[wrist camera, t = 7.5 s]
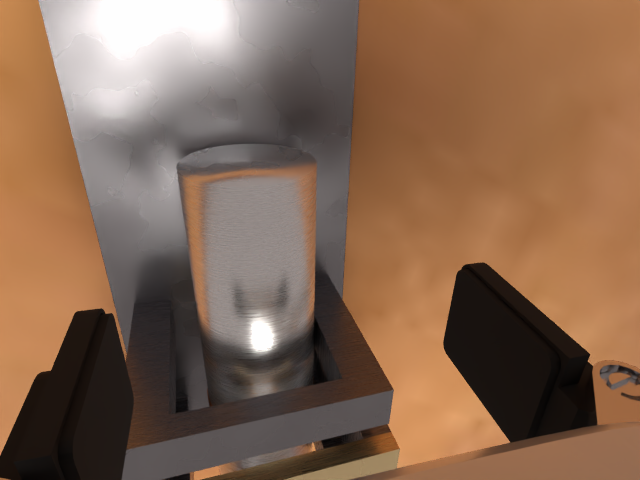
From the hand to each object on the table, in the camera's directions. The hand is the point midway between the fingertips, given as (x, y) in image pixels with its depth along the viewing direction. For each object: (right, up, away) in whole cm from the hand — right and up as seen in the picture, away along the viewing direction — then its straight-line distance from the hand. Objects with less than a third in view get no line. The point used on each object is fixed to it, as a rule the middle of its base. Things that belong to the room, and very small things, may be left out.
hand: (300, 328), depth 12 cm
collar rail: (-4, +1, +10) cm, 10 cm away
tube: (-4, -2, +10) cm, 11 cm away
